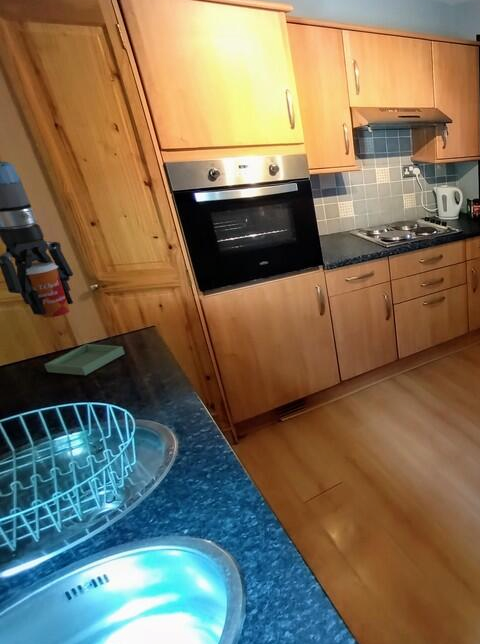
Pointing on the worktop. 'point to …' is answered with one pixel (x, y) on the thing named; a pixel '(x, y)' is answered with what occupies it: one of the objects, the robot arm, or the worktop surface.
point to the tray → (84, 359)
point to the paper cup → (48, 288)
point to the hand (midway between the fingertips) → (54, 308)
